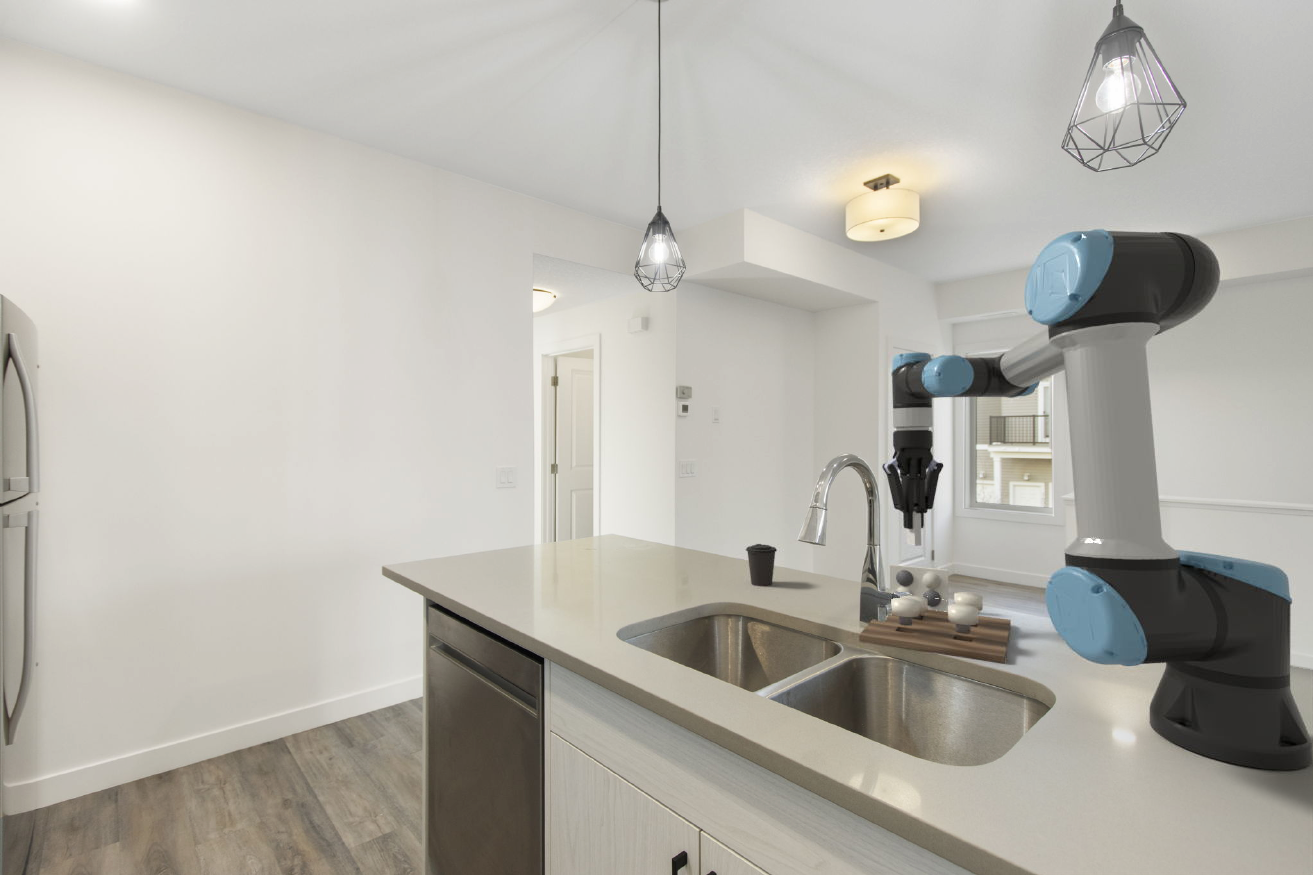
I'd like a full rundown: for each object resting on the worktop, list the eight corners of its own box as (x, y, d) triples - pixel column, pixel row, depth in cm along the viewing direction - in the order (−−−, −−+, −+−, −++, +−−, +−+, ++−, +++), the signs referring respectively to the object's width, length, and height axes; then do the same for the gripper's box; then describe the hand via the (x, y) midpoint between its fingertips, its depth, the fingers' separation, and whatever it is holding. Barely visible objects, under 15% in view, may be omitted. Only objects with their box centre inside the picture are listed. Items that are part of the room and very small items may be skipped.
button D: (925, 624, 126) (925, 602, 126) (899, 621, 129) (898, 599, 129) (929, 618, 130) (929, 597, 130) (903, 615, 133) (903, 594, 133)
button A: (977, 637, 112) (977, 613, 112) (946, 633, 115) (946, 609, 115) (979, 630, 117) (979, 606, 117) (949, 626, 119) (949, 602, 119)
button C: (981, 622, 121) (981, 600, 121) (953, 619, 124) (952, 596, 124) (983, 616, 125) (983, 594, 125) (955, 612, 128) (955, 591, 128)
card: (947, 612, 137) (947, 570, 137) (889, 605, 143) (889, 565, 143) (950, 607, 140) (949, 567, 140) (893, 600, 146) (893, 561, 146)
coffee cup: (760, 578, 170) (759, 541, 170) (783, 583, 164) (783, 545, 164) (739, 583, 165) (738, 545, 165) (763, 589, 159) (762, 549, 159)
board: (1005, 663, 106) (1005, 656, 106) (859, 640, 119) (859, 634, 119) (1010, 625, 127) (1010, 619, 127) (885, 609, 139) (885, 604, 139)
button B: (917, 629, 118) (917, 605, 118) (889, 625, 120) (888, 602, 120) (921, 622, 122) (921, 599, 122) (894, 618, 124) (894, 596, 124)
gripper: (928, 429, 135) (929, 540, 135) (873, 429, 131) (875, 543, 132) (952, 428, 127) (953, 545, 127) (895, 429, 124) (897, 549, 124)
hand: (913, 544), depth 129 cm, fingers closed
